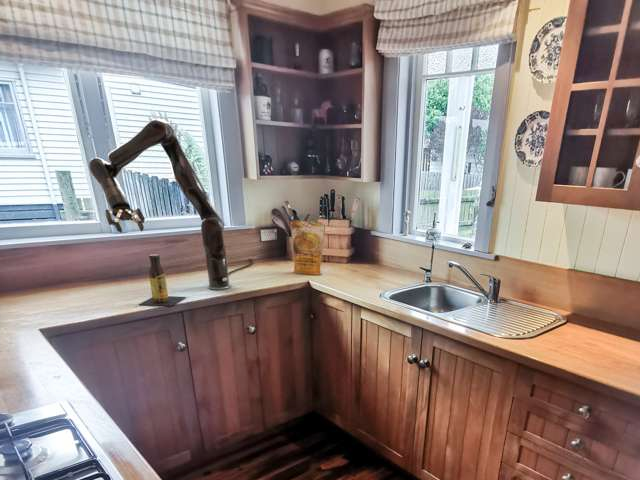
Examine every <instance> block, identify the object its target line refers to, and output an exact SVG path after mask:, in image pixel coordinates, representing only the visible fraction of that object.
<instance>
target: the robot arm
mask: <svg viewBox="0 0 640 480" xmlns="http://www.w3.org/2000/svg"><path fill="white" fill-rule="evenodd" d="M158 145H160V147H161V148H162V149H163V151H164V152H165V154H166V156H167V158H168V161H169V164H170V167H171V171H172V175H173V178H174V180H175V182H176V184H177V185H178V187H179V189H180V191H181V192H182V194H183V195H184V196H185V198H186V199H187V200H188V202H190V204H191V205H192V206H193V207H194V209H195V210H196V212H197V214H198V216H199V217H200V220H201V225H200V233H201V237H202V238H201V239H202V245H203V249H204V254H205V260H206V261H205V262H206V269H207V278H208V287H209V289H210V290H214V291H218V290H219V291H220V290H221V291H222V290H227V289H229V288H230V281H229V280H230V279H229V275H230V274H233V273H235V272H238V271H240V270H242V269H245V268H248V267H249V266H251V265H252V264H253V260H252V259H251V258H249V259H250V260H249V259H248V261H249V262H250V263H248V264H247V265H246V264H245V265H244V266H242V267H239V268H236V269H234V270H230V271H229V270H228V261H227V251H226V245H225V242H224V234H223V233H224V230H225V229H224V228H225V225H224V222H223V220H222V218H221V217H220V215H219V214H218V213H217V211H216V210H215V208H214V207H213V204H212V203H211V201H210V199H209V197H208V195H207V193H206V190H205V188H204V186H203V184H202V183H201V180H200V178H199V176H198V175H197V173H196V171H195V170H194V168H193V166H192V164H191V163H190V161H189V159H188V157H187V155H186V154H185V152H184V151H183V148H182V146H181V144H180V142H179V139H178V137H177V135H176V132H175V129H174V128H173V126H172V125H171V124H170V123H169V122H168V121H166V120H164V119H152V120H150V121H149V122H147V123H146V125H145V126H144V127H143V128H142V129H141V130H140V131H138V133H136V135H134V136H133V137H132V138H130V139H129V140H128V141H126V142H124V143H123V144H121V145H119V146H118V147H117V148H115V149H113V150H112V151H110V152H109V153H108V155H107V158H108V161H109V163H108V162H107V161H105V160H104V159H102V158H100V157H93V158H91V159H90V160H89V163H88V167H89V168H88V169H89V171H90V173H91V174H92V176H93V178H94V179H95V181H97V183H98V184H99V185H100V187H101V189H102V191H103V194H104V196H105V199H106V202H107V203H108V205H109V207H110V208H109V209H110V210H109V209H105V211H104V212H105V213H104V214H105V217H106V220H107V223H108V225H109V226H114V227H115V230H116V231H117V232H119V234H120V233H121V234H122V233H123V228H122V226H121V225H120V222H121V221H122V222H123V221H131V222H133V223H136V224H137V226H138V229H139V231H140V232H143V231H144V229H145V226H144V224H145V219H146V218H145V215H144V214H143V212H142V211H141V208H136V209H132V207H131V205H130V202H129V200H128V199H127V196H126V195H125V192H124V191H123V189H122V187H121V186H120V183H119V182H118V180H117V179H116V177H117V176H118V175H119V174H120V173H121V171H122V170H123V168H125V167H127V166H128V165H131V163H133V162H134V161H135V160H137V158H139V156H141V154H142V153H144V152H146V151H147V150H149V149H150V148H153V147H155V146H158ZM112 216H114V217H115V219H113V217H112Z"/></svg>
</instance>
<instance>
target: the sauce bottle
mask: <svg viewBox="0 0 640 480" xmlns="http://www.w3.org/2000/svg"><path fill="white" fill-rule="evenodd" d="M148 259H149V261H150V268H149V269H148V275H149V283H150V291H151V298H152V297H153V301H154V302H158V303H160V302H166V301H168V296H169V292H168V286H167V279H166V273H165V271H164V269H163V267H162V265H161V264H162V263H161V260H160V259H161V257H160V254H158V253H152V254H148Z"/></svg>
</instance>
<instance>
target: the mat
mask: <svg viewBox="0 0 640 480" xmlns="http://www.w3.org/2000/svg"><path fill="white" fill-rule="evenodd" d="M185 299H186V296H172V295H168V301H166V302H160V303H158V302H154V301H153V297H152V296H151V297H150V298H148V299H146V300H145V301H143V302H141V303H139V306H146V307H147V306H148V307H168V308H172V307H174V306H175V305H177V304H178V303H180V302H182V301H184V300H185Z"/></svg>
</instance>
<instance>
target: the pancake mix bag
mask: <svg viewBox="0 0 640 480" xmlns="http://www.w3.org/2000/svg"><path fill="white" fill-rule="evenodd" d="M289 223H290V232H291V245H292V252H293V254H292V255H293V261H294V263H293V265H294V266H293V273H295V274H298V275H299V274H300V275H309V276H321V275H322V273H321V267H322V260H323V259H322V258H323V251H324V243H325V231H326V225H325V224H323V222H321V221H308V220H295V219H294V220H290V221H289Z"/></svg>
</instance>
